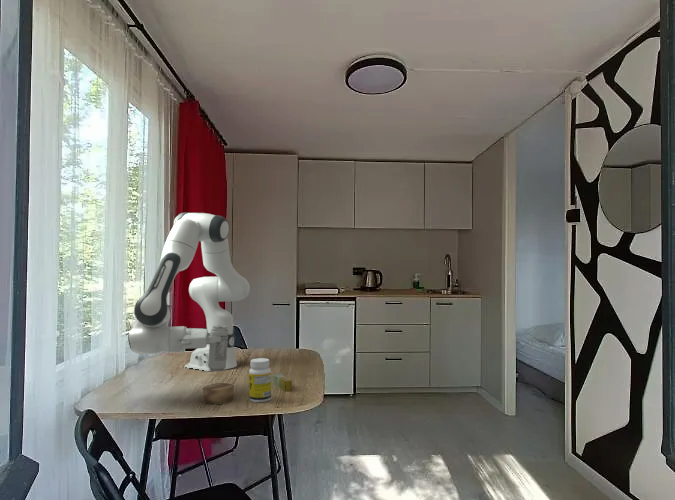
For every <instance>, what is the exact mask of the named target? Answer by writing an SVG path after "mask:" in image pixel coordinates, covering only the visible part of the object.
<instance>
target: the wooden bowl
mask: <svg viewBox="0 0 675 500" xmlns="http://www.w3.org/2000/svg"><path fill="white" fill-rule="evenodd" d="M234 400H235V385H234V384H233V383H226V382H217V383H211V384H208V385H205V386H203V387H202V402H203V403H204V402H205V403H204V404H207V403H208V405H219V404H220V405H221V404H227V403H229V402H232V401H234Z"/></svg>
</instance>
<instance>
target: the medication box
mask: <svg viewBox="0 0 675 500" xmlns="http://www.w3.org/2000/svg"><path fill="white" fill-rule="evenodd" d="M272 378H273V381H272V382H273V385H274V386H276V387H277V388H279V389H280V390H282V391H284V392H285V393H286V392H291V391H293V384H292V381H293V380H292V379H290V378H288V376H285V375H283V374H281V373H280V372H277V373H273V375H272Z"/></svg>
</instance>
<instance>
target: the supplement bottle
mask: <svg viewBox="0 0 675 500" xmlns="http://www.w3.org/2000/svg"><path fill="white" fill-rule="evenodd" d="M249 363H250V369H249V371H248V388H249V392H248V396H249V397H248V399H249V400H250V401H251V402H253V403H264V402H269V401H271V399H272V398H273V397H272V369H271V368H270V359H269V358H264V357H261V358H259V357H258V358H253V359H251V360H250V362H249Z"/></svg>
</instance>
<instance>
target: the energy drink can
mask: <svg viewBox="0 0 675 500" xmlns="http://www.w3.org/2000/svg"><path fill="white" fill-rule="evenodd" d="M215 336H220V337H221V341H220V342H214V343H210V348H209V362H208V367H209V368H210V370H211V371H210V372H223V371H225V369H224V368H226V358H227V344H228V330H227V326H213V328H212V330H211V334H210V337H215Z"/></svg>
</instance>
